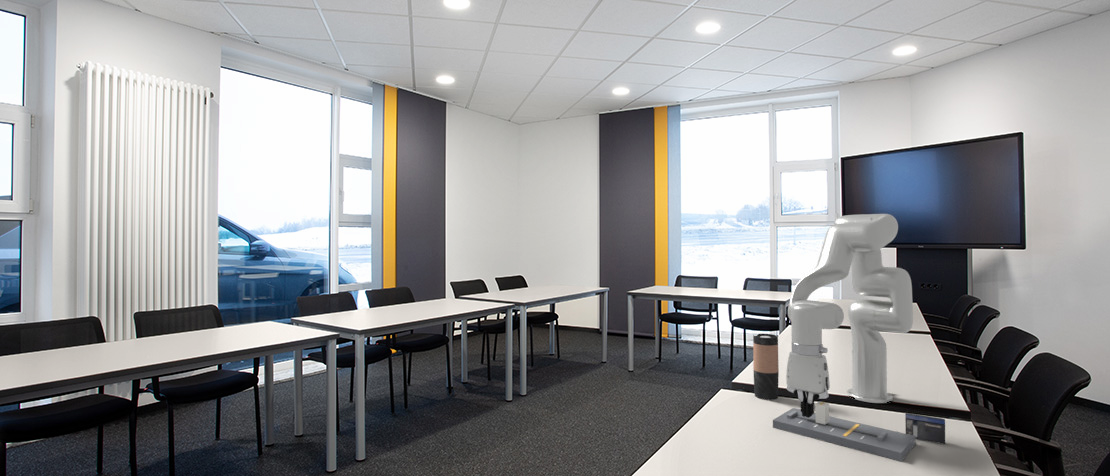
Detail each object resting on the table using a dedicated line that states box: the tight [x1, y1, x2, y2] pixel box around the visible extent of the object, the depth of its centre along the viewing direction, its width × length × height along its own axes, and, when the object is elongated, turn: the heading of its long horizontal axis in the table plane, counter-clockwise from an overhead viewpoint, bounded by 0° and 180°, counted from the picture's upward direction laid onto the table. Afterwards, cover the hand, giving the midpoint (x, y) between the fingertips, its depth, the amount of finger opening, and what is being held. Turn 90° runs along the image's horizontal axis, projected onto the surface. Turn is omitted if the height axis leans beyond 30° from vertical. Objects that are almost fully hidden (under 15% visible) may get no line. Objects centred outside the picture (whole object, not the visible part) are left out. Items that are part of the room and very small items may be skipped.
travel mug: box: [752, 333, 780, 401], centre depth 167 cm, size 8×8×20 cm
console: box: [772, 407, 917, 462], centre depth 134 cm, size 14×30×3 cm, turn 43°
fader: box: [814, 400, 830, 425], centre depth 137 cm, size 3×2×5 cm
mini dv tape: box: [904, 412, 946, 445], centre depth 130 cm, size 8×2×6 cm, turn 55°
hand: (807, 415), depth 140 cm, fingers closed
